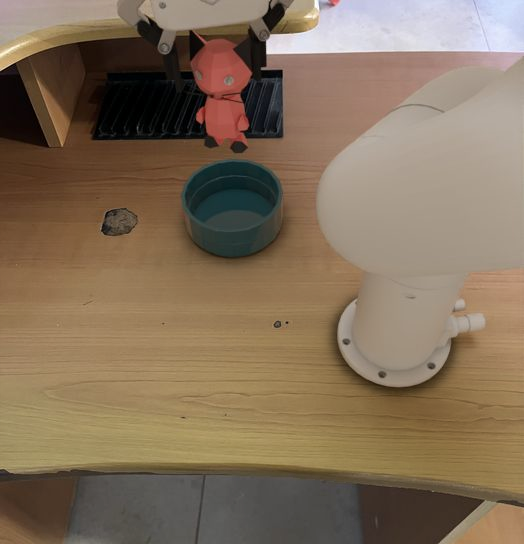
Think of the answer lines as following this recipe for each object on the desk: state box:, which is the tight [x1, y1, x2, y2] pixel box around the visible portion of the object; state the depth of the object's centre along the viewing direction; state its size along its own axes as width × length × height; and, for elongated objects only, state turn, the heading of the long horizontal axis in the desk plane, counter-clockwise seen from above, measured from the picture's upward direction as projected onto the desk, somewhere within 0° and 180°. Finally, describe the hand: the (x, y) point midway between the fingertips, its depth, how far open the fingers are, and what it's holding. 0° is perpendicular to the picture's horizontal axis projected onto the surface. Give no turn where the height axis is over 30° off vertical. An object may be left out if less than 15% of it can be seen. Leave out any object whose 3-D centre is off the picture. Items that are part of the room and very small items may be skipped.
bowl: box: [180, 158, 284, 258], centre depth 73 cm, size 13×13×5 cm
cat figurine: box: [182, 30, 253, 154], centre depth 58 cm, size 7×7×12 cm
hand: (217, 77), depth 57 cm, fingers closed on cat figurine, 7 cm apart
